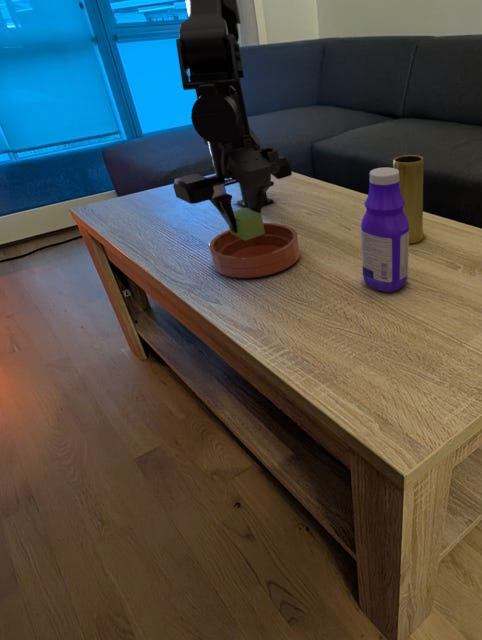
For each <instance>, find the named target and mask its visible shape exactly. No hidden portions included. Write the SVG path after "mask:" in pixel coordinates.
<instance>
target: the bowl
mask: <svg viewBox="0 0 482 640" xmlns="http://www.w3.org/2000/svg"><path fill="white" fill-rule="evenodd" d="M263 225H264V231H265V234H263V235H260V236H257V237H255V238H252V239H249V240H246V241H245V240H243V239H241V238H239V237H237V236H235V235H233V234H231V233H230V229H228V230H225V231H223V232H221V233H219V234H217V235H216V236H215V237H214V238H213V239H211V241H210V242H209V245H208V250H209V254H210V257H211V261H212V264H213V267H214V269H215V272H218V273H219V274H221V275H223V276H226V277H231V278H238V279H239V278H240V279H243V278H244V279H251V278H259V277H264V276H269V275H273V274H276V273H279V272H282V271H284V270H286V269H288V268H290V267H291V266H293V265H294V264H295V263H296V262H297V261H298V260H299V258H300V256H301V249H300V243H299V235H298V234H299V233H298V232H297V231H296V230H295V229H294V227H292V226H291V227H290V226H289V225H286V224H280V223H276V222H275V223H272V222H271V223H270V222H263Z"/></svg>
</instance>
